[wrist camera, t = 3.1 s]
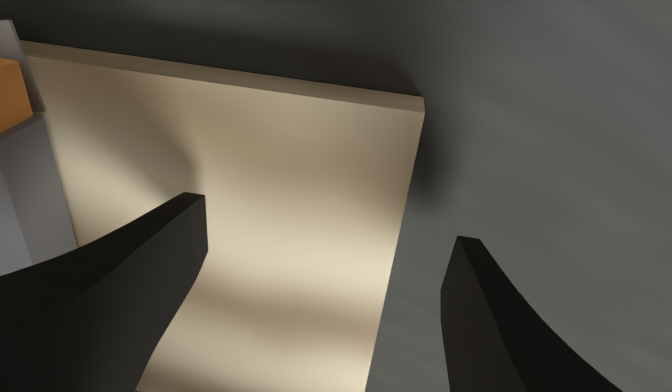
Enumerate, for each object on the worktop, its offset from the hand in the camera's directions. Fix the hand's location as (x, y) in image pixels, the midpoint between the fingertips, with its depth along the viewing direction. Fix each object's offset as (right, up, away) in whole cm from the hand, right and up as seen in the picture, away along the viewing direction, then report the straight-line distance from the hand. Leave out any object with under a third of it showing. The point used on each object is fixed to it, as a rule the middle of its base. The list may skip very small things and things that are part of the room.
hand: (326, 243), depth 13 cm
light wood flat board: (-9, 0, +4) cm, 10 cm away
